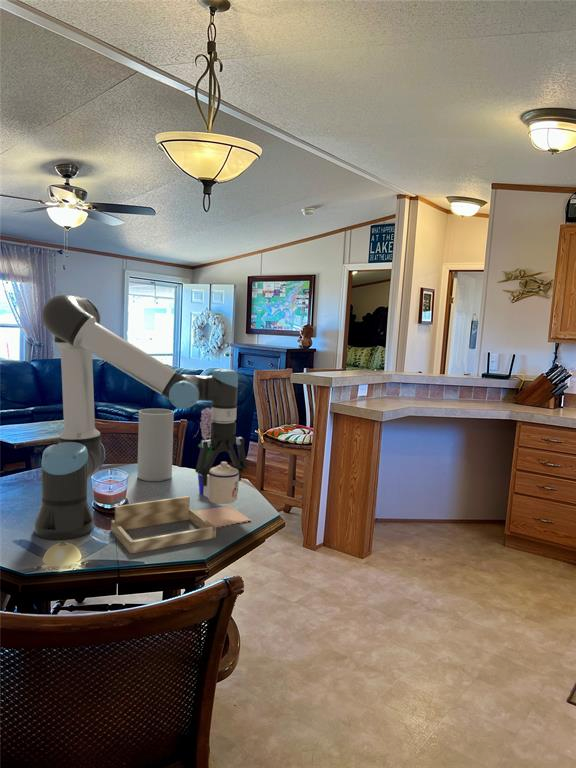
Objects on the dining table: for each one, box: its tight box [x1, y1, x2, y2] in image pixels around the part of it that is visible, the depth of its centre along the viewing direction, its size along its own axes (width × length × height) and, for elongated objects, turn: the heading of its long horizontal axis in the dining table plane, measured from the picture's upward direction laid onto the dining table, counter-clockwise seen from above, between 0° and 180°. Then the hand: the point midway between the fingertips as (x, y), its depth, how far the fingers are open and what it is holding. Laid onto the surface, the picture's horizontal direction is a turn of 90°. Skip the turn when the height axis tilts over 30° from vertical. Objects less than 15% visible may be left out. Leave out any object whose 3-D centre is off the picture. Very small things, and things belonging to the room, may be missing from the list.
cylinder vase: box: [137, 408, 175, 483], centre depth 207 cm, size 12×12×25 cm
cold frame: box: [110, 495, 217, 555], centre depth 155 cm, size 24×17×7 cm
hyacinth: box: [197, 407, 213, 496], centre depth 193 cm, size 9×10×30 cm
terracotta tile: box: [194, 505, 252, 529], centre depth 171 cm, size 14×14×1 cm
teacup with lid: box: [208, 461, 239, 505], centre depth 170 cm, size 12×9×12 cm
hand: (220, 493), depth 170 cm, fingers closed on teacup with lid, 9 cm apart
